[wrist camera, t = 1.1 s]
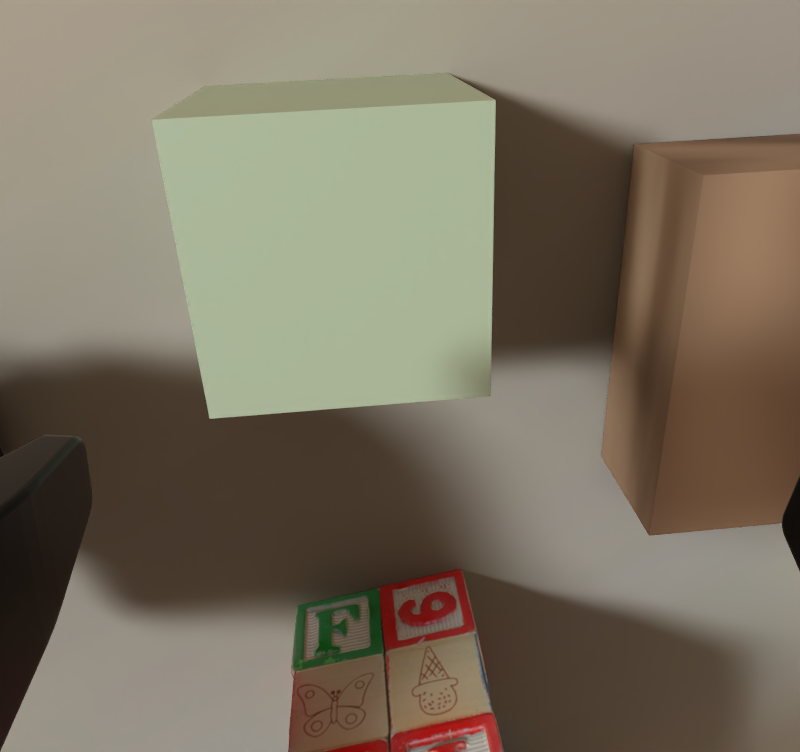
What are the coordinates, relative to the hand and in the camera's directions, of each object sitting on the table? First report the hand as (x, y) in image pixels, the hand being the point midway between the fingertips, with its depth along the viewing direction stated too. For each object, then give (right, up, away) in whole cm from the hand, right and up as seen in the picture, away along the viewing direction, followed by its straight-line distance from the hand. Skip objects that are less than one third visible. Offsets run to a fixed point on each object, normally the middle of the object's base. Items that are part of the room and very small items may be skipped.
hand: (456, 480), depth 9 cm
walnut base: (+11, +3, +13) cm, 17 cm away
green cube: (-2, +6, +10) cm, 12 cm away
